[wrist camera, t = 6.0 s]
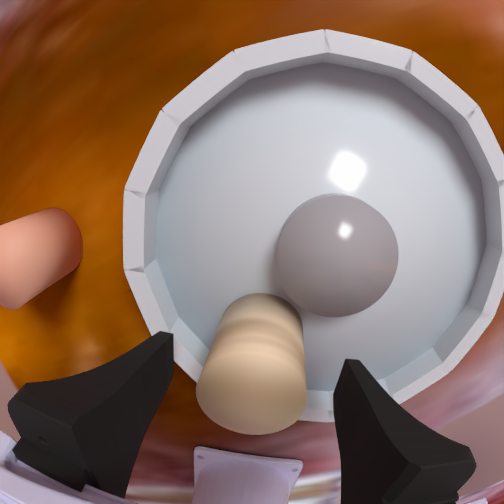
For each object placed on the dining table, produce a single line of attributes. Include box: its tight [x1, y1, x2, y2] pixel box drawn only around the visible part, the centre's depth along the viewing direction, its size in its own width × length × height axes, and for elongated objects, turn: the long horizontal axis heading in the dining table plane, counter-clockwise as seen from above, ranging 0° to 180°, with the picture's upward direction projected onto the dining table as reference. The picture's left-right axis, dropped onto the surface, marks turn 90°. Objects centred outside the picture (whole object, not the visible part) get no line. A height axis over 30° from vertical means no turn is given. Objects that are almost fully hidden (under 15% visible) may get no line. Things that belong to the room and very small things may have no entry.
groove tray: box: [123, 29, 504, 422], centre depth 14 cm, size 18×18×2 cm
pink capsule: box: [0, 208, 83, 310], centre depth 14 cm, size 4×4×5 cm
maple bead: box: [196, 293, 307, 435], centre depth 13 cm, size 4×4×5 cm
